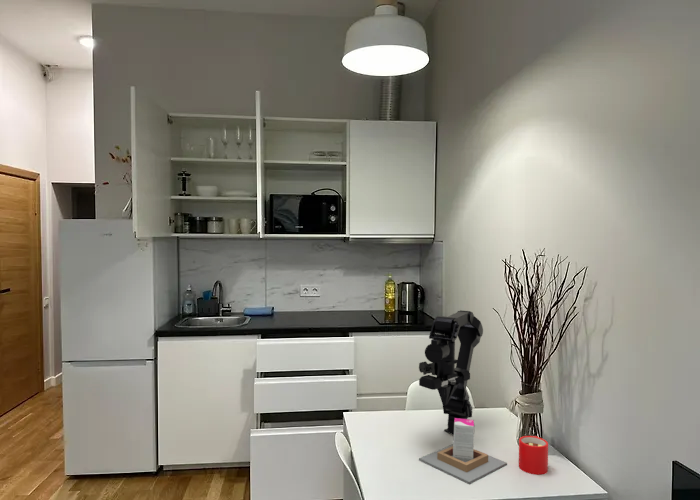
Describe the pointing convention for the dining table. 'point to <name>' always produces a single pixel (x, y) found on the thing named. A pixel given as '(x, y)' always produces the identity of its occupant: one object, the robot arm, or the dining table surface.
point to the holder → (463, 464)
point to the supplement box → (463, 439)
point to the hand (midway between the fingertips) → (444, 405)
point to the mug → (533, 455)
